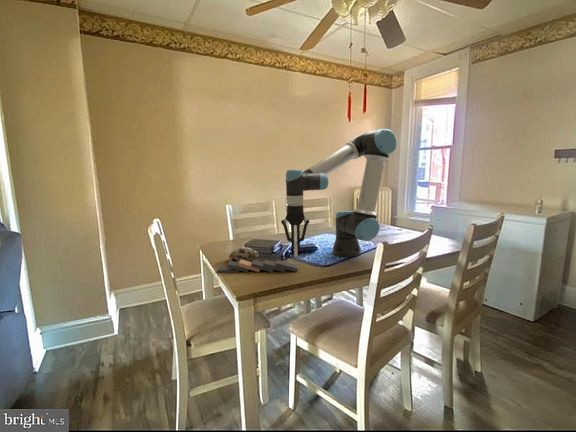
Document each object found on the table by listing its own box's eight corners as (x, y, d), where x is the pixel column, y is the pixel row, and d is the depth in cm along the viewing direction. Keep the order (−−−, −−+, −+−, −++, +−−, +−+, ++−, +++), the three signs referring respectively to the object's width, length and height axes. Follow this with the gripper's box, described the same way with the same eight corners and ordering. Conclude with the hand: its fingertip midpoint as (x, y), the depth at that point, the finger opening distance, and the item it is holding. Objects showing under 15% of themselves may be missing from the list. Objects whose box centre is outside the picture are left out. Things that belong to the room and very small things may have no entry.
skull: (257, 272, 152) (249, 261, 145) (231, 267, 159) (221, 257, 152) (264, 255, 157) (256, 245, 150) (238, 252, 164) (230, 242, 157)
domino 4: (274, 265, 144) (253, 259, 144) (273, 269, 139) (251, 263, 139) (273, 268, 144) (252, 263, 144) (272, 272, 139) (251, 266, 139)
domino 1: (240, 266, 145) (219, 266, 145) (238, 270, 140) (216, 270, 140) (240, 269, 145) (219, 270, 146) (238, 273, 140) (217, 273, 141)
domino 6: (297, 265, 144) (277, 259, 143) (297, 268, 139) (276, 263, 138) (296, 268, 144) (276, 262, 144) (297, 271, 139) (275, 266, 139)
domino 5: (285, 265, 144) (265, 259, 144) (285, 268, 139) (264, 263, 139) (284, 268, 144) (264, 262, 144) (284, 272, 139) (263, 266, 139)
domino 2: (250, 265, 145) (229, 260, 145) (248, 269, 140) (227, 263, 140) (249, 268, 145) (229, 263, 145) (247, 272, 140) (226, 267, 140)
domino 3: (261, 265, 144) (241, 259, 145) (259, 269, 140) (238, 262, 140) (260, 268, 145) (240, 262, 145) (258, 272, 140) (237, 265, 140)
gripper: (309, 203, 140) (309, 253, 144) (280, 203, 140) (282, 253, 144) (309, 205, 132) (310, 258, 136) (279, 206, 133) (281, 258, 137)
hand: (295, 255), depth 140 cm, fingers closed
